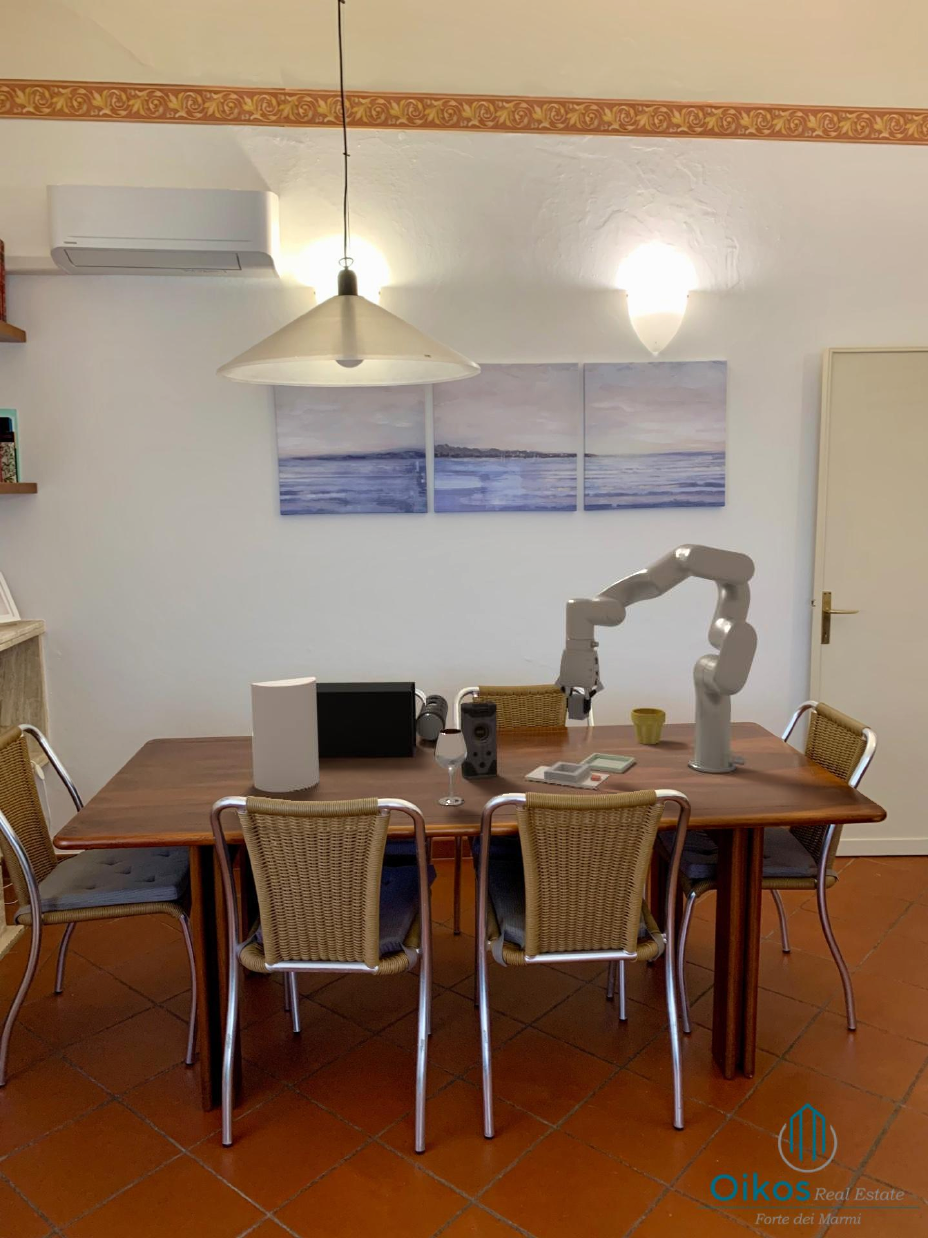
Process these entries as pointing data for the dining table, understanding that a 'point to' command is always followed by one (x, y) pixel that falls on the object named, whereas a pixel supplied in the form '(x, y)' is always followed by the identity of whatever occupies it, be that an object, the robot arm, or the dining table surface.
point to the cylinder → (285, 734)
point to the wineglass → (450, 757)
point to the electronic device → (479, 739)
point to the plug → (576, 707)
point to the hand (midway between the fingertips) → (578, 711)
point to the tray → (608, 762)
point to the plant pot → (648, 724)
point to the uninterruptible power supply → (366, 719)
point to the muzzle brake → (432, 717)
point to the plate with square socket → (567, 775)
